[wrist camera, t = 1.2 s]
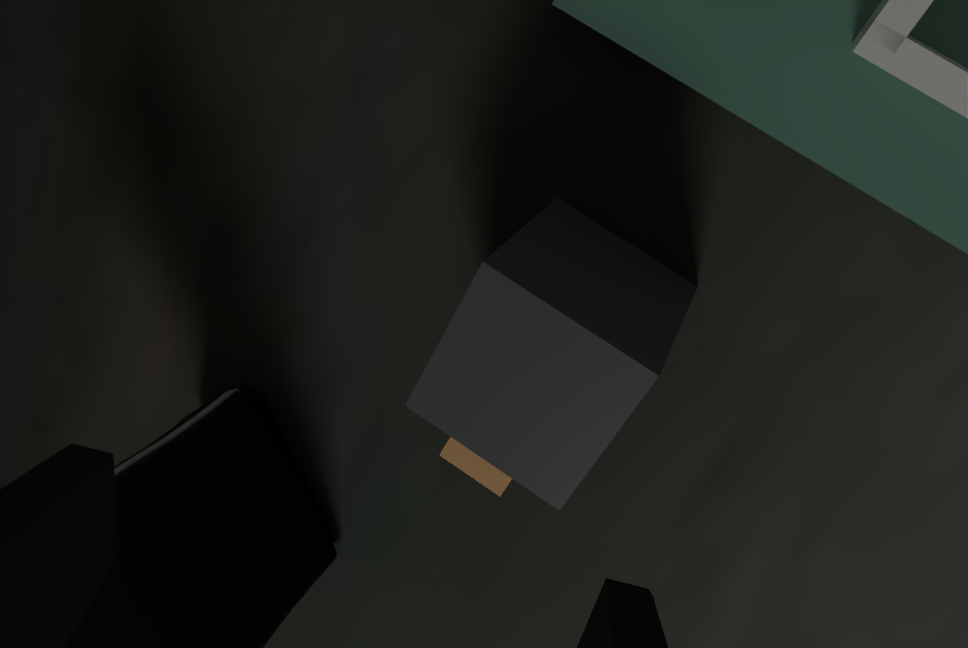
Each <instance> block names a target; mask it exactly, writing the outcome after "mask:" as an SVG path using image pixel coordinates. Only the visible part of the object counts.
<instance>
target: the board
mask: <svg viewBox="0 0 968 648" xmlns="http://www.w3.org/2000/svg"><path fill="white" fill-rule="evenodd" d="M552 5H554V6H556V7H557V8H559V9H561V10H562V11H564V12H566V13H567V14H569V15H571V16H572V17H574V18H576V19H577V20H579V21H581V22H582V23H584V24H586V25H587V26H589V27H591V28H592V29H594V30H596V31H597V32H599V33H601V34H602V35H604V36H606V37H607V38H609V39H611V40H612V41H614V42H616V43H617V44H619V45H621V46H622V47H624V48H626V49H627V50H629V51H631V52H632V53H634V54H636V55H637V56H639V57H641V58H642V59H644V60H646V61H647V62H649V63H651V64H652V65H654V66H656V67H657V68H659V69H661V70H662V71H664V72H666V73H667V74H669V75H671V76H672V77H674V78H675V79H677V80H679V81H680V82H682V83H684V84H685V85H687V86H689V87H690V88H692V89H694V90H695V91H697V92H699V93H700V94H702V95H704V96H705V97H707V98H709V99H710V100H712V101H714V102H715V103H717V104H719V105H720V106H722V107H724V108H725V109H727V110H729V111H730V112H732V113H734V114H735V115H737V116H739V117H740V118H742V119H744V120H745V121H747V122H749V123H750V124H752V125H754V126H755V127H757V128H759V129H760V130H762V131H764V132H765V133H767V134H769V135H770V136H772V137H774V138H775V139H777V140H779V141H780V142H782V143H784V144H785V145H787V146H789V147H790V148H792V149H794V150H795V151H797V152H799V153H800V154H802V155H804V156H805V157H807V158H809V159H810V160H812V161H814V162H815V163H817V164H819V165H820V166H822V167H824V168H825V169H827V170H829V171H830V172H832V173H834V174H835V175H837V176H839V177H840V178H842V179H844V180H845V181H847V182H849V183H850V184H852V185H854V186H855V187H857V188H859V189H860V190H862V191H864V192H865V193H867V194H869V195H870V196H872V197H874V198H875V199H877V200H879V201H880V202H882V203H883V204H885V205H887V206H888V207H890V208H892V209H893V210H895V211H897V212H898V213H900V214H902V215H903V216H905V217H907V218H908V219H910V220H912V221H913V222H915V223H917V224H918V225H920V226H922V227H923V228H925V229H927V230H928V231H930V232H932V233H933V234H935V235H937V236H938V237H940V238H942V239H943V240H945V241H947V242H948V243H950V244H952V245H953V246H955V247H957V248H958V249H960V250H962V251H963V252H965V253H967V254H968V0H554V1H553V3H552Z"/></svg>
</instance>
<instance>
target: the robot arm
mask: <svg viewBox="0 0 968 648" xmlns="http://www.w3.org/2000/svg"><path fill="white" fill-rule="evenodd" d="M118 552H119V547H118V529H117V512H116V494H115V477H114V459H113V454H112V453H108V452H104V451H100V450H96V449H92V448H88V447H84V446H80V445H76V444H70V445H69V446H67V447H65V448H64V449H62V450H60V451H59V452H57V453H56V454H54V455H52V456H51V457H49V458H48V459H46V460H44V461H43V462H41V463H40V464H38V465H37V466H35V467H34V468H32V469H31V470H29V471H27V472H26V473H24V474H23V475H21V476H20V477H18V478H17V479H15V480H13V481H12V482H10V483H9V484H7V485H6V486H4V487H3V488H1V489H0V648H63V646H64V645H65V643H66V642H67V641H68V639H69V638H70V636H71V635H72V633H73V632H74V630H75V629H76V627H77V626H78V625H79V623H80V622H81V620H82V619H83V617H84V615H85V614H86V612H87V610H88V608H89V606H90V605H91V603H92V601H93V599H94V597H95V596H96V594H97V592H98V590H99V588H100V587H101V585H102V583H103V581H104V579H105V577H106V575H107V573H108V571H109V569H110V567H111V565H112V564H113V562H114V560H115V558H116V556H117V554H118ZM577 648H668V645H667V642H666V639H665V636H664V632H663V629H662V626H661V623H660V619H659V616H658V612H657V609H656V605H655V602H654V598H653V596H652V594H651V592H650V591H649V589H647V588H643V587H639V586H635V585H631V584H627V583H623V582H619V581H615V580H611V579H607V578H606V579H605V582H604V584H603V587H602V589H601V591H600V594H599V596H598V599H597V601H596V603H595V606H594V608H593V610H592V613H591V615H590V618H589V620H588V622H587V625H586V627H585V630H584V632H583V634H582V637H581V639H580V642H579V644H578V646H577Z"/></svg>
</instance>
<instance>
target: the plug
mask: <svg viewBox="0 0 968 648" xmlns="http://www.w3.org/2000/svg"><path fill="white" fill-rule="evenodd" d="M696 288H697V285H695V284H693V283H692V282H690V281H689V280H687V279H686V278H684V277H682V276H681V275H679V274H678V273H676V272H674V271H673V270H671V269H670V268H668V267H667V266H665V265H663V264H662V263H660V262H659V261H657V260H655V259H654V258H652V257H651V256H649V255H647V254H646V253H644V252H643V251H641V250H640V249H638V248H636V247H635V246H633V245H632V244H630V243H628V242H627V241H625V240H624V239H622V238H621V237H619V236H617V235H616V234H614V233H613V232H611V231H609V230H608V229H606V228H605V227H603V226H602V225H600V224H598V223H597V222H595V221H594V220H592V219H590V218H589V217H587V216H586V215H584V214H583V213H581V212H579V211H578V210H576V209H575V208H573V207H571V206H570V205H568V204H567V203H565V202H563V201H562V200H560V199H559V198H556V199H555V200H553V201H552V202H551V203H550V204H549V205H548V206H547V207H545V208H544V209H543V210H542V211H541V212H540V213H538V214H537V215H536V216H535V217H534V218H533V219H532V220H530V221H529V222H528V223H527V224H526V225H525V226H523V227H522V228H521V229H520V230H519V231H518V232H516V233H515V234H514V235H513V236H512V237H511V238H510V239H508V240H507V241H506V242H505V243H504V244H503V245H501V246H500V247H499V248H498V249H497V250H496V251H495V252H493V253H492V254H491V255H490V256H489V257H488V258H486V259H485V260H484V261H483V262H482V264H481V266H480V268H479V270H478V271H477V273H476V275H475V277H474V279H473V281H472V283H471V284H470V286H469V288H468V290H467V292H466V294H465V296H464V297H463V299H462V301H461V303H460V305H459V307H458V309H457V310H456V312H455V314H454V316H453V318H452V320H451V322H450V323H449V325H448V327H447V329H446V331H445V333H444V335H443V336H442V338H441V340H440V342H439V344H438V346H437V347H436V349H435V351H434V353H433V355H432V357H431V359H430V360H429V362H428V364H427V366H426V368H425V370H424V372H423V373H422V375H421V377H420V379H419V381H418V383H417V385H416V386H415V388H414V390H413V392H412V394H411V396H410V398H409V399H408V401H407V403H406V405H405V406H406V407H408V408H409V409H410V410H412V411H413V412H415V413H416V414H418V415H419V416H421V417H422V418H424V419H425V420H427V421H428V422H430V423H431V424H433V425H434V426H435V427H437V428H438V429H440V430H441V431H443V432H444V433H446V434H447V435H449V436H450V438H449V440H448V442H447V443H446V445H445V447H444V449H443V450H442V452H441V454H440V456H441V457H443V458H444V459H446V460H447V461H449V462H450V463H452V464H453V465H455V466H456V467H457V468H459V469H460V470H462V471H463V472H465V473H466V474H468V475H469V476H471V477H472V478H474V479H475V480H476V481H478V482H479V483H481V484H482V485H484V486H485V487H487V488H488V489H490V490H491V491H493V492H494V493H495V494H497V495H498V496H501V494H502V493H503V491H504V490H505V489H506V487H507V486H508V484H509V483H510V481H511V480H512V479H513V480H515V481H516V482H518V483H519V484H521V485H522V486H524V487H525V488H527V489H528V490H530V491H531V492H533V493H534V494H535V495H537V496H538V497H540V498H541V499H543V500H544V501H546V502H547V503H549V504H550V505H552V506H553V507H555V508H556V509H558V510H560V509H561V508H562V506H563V505H564V504H565V502H566V501H567V499H568V498H569V497H570V495H571V494H572V493H573V491H574V490H575V489H576V487H577V486H578V485H579V483H580V482H581V481H582V479H583V478H584V477H585V475H586V474H587V473H588V471H589V470H590V469H591V467H592V466H593V465H594V463H595V462H596V460H597V459H598V458H599V456H600V455H601V454H602V452H603V451H604V450H605V448H606V447H607V446H608V444H609V443H610V442H611V440H612V439H613V438H614V436H615V435H616V434H617V432H618V431H619V430H620V428H621V427H622V425H623V424H624V423H625V421H626V420H627V419H628V417H629V416H630V415H631V413H632V412H633V411H634V409H635V408H636V407H637V405H638V404H639V403H640V401H641V400H642V399H643V397H644V396H645V395H646V393H647V392H648V391H649V389H650V388H651V386H652V385H653V384H654V382H655V381H656V380H657V378H658V377H659V375H660V373H661V371H662V368H663V366H664V364H665V361H666V359H667V357H668V354H669V352H670V349H671V347H672V345H673V342H674V340H675V338H676V335H677V333H678V331H679V328H680V326H681V324H682V321H683V319H684V316H685V314H686V312H687V309H688V307H689V305H690V302H691V300H692V298H693V295H694V293H695V291H696Z"/></svg>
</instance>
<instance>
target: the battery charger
mask: <svg viewBox="0 0 968 648" xmlns="http://www.w3.org/2000/svg"><path fill="white" fill-rule="evenodd" d="M114 477H115V494H116V512H117V529H118V547H119V552H118V554H117V556H116V558H115V560H114V562H113V564H112V565H111V567H110V569H109V571H108V573H107V575H106V577H105V579H104V581H103V583H102V585H101V587H100V588H99V590H98V592H97V594H96V596H95V597H94V599H93V601H92V603H91V605H90V606H89V608H88V610H87V612H86V614H85V615H84V617H83V619H82V620H81V622H80V623H79V625H78V626H77V627H76V629H75V630H74V632H73V633H72V635H71V636H70V638H69V639H68V641H67V642H66V643H65V645H64V646H63V648H263V647H264V646H265V645H266V643H267V642H268V640H269V639H270V638H271V636H272V635H273V634H274V632H275V631H276V629H277V628H278V627H279V625H280V624H281V623H282V621H283V620H284V619H285V618H286V616H287V615H288V614H289V613H290V611H291V610H292V609H293V608H294V606H295V605H296V604H297V603H298V602H299V600H300V599H301V598H302V597H303V596H304V595H305V593H306V592H307V591H308V590H309V588H310V587H311V586H312V585H313V584H314V582H315V581H316V580H317V579H318V578H319V577H320V576H321V575H322V573H323V572H324V571H325V570H326V569H327V568H328V567H329V566H330V565H331V563H332V562H333V561H334V560H335V558H336V554H337V553H336V550H335V548H334V545H333V543H332V541H331V538H330V536H329V534H328V532H327V529H326V527H325V525H324V523H323V520H322V518H321V516H320V514H319V512H318V510H317V508H316V506H315V503H314V501H313V499H312V497H311V495H310V493H309V491H308V489H307V487H306V485H305V483H304V481H303V479H302V476H301V474H300V472H299V470H298V468H297V466H296V465H295V463H294V461H293V459H292V457H291V455H290V453H289V451H288V449H287V447H286V445H285V443H284V442H283V440H282V438H281V436H280V434H279V432H278V430H277V428H276V426H275V424H274V423H273V421H272V419H271V417H270V416H269V414H268V412H267V410H266V408H265V407H264V405H263V403H262V401H261V400H260V398H259V396H258V394H257V393H256V392H255V391H253V390H251V389H244V390H242V389H239V388H237V389H233V390H230V391H227V392H225V393H224V394H223V395H221V396H218V397H215V398H212V399H211V400H209V401H208V402H206V403H204V404H203V405H201V406H200V407H199V408H198V409H197V410H195V411H194V412H192V413H191V414H189V415H187V416H186V417H185V418H183V419H182V420H181V421H180V422H179V423H178V424H177V425H176V426H174V427H173V428H172V429H171V430H169V431H168V432H167V433H165V434H164V435H163V436H161V437H160V438H158V439H157V440H155V441H154V442H153V443H151V444H150V445H148V446H147V447H145V448H144V449H142V450H140V451H139V452H137V453H135V454H134V455H132V456H130V457H129V458H127V459H125V460H124V461H122V462H120V463H119V464H117V465H116V466H114Z"/></svg>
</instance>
